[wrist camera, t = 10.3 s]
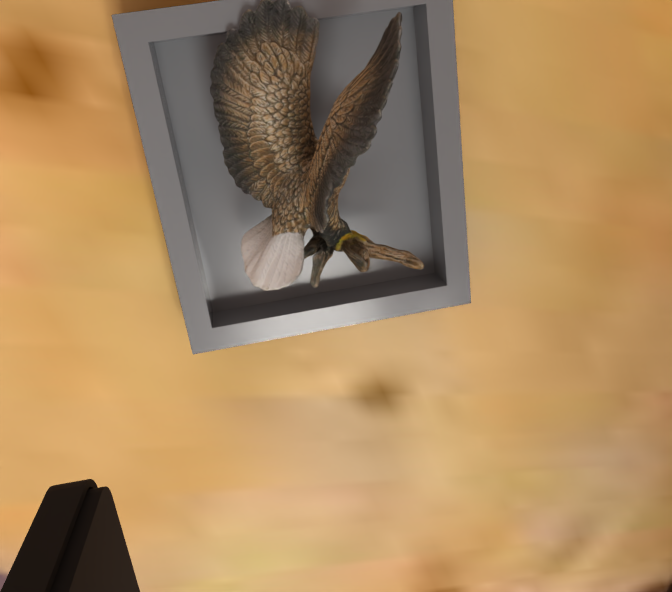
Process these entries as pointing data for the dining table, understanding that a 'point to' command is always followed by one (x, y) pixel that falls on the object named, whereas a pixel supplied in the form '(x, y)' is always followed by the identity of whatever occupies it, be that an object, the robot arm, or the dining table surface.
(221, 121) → the eagle figurine
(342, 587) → the dining table surface
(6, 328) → the dining table surface
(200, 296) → the holder
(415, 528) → the dining table surface
